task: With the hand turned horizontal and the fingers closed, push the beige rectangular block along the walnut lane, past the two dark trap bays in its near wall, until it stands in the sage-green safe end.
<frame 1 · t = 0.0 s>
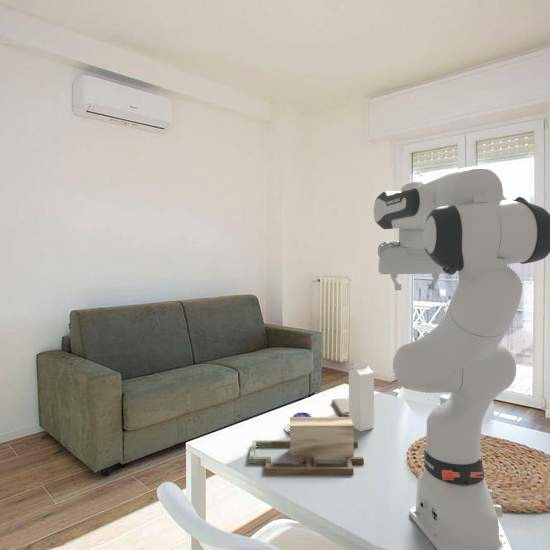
hand: (414, 290, 129), 48 cm above the table, tool pointing down, fingers open, 8 cm apart
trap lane: (307, 454, 133), on the table
beige rectangular block: (321, 454, 133), resting in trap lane
milk: (361, 427, 153), on the table
pudding: (302, 430, 152), on the table
supplement bottle: (447, 437, 144), on the table
washcloth: (351, 411, 170), on the table
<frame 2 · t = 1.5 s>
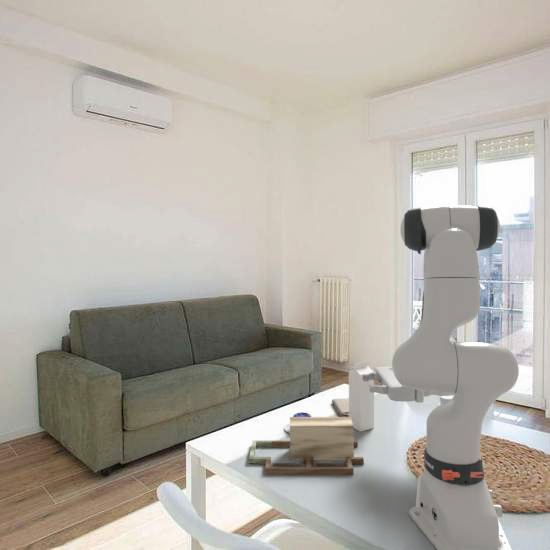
hand: (365, 383, 132), 21 cm above the table, tool horizontal, fingers open, 8 cm apart
nothing on the table moved.
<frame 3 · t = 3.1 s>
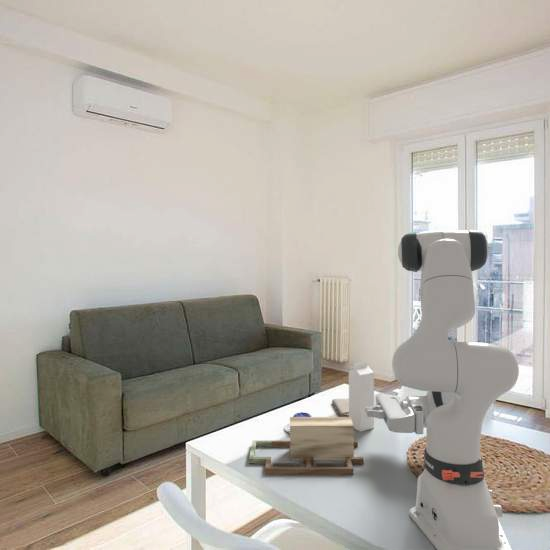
hand: (366, 412, 132), 12 cm above the table, tool horizontal, fingers closed
nothing on the table moved.
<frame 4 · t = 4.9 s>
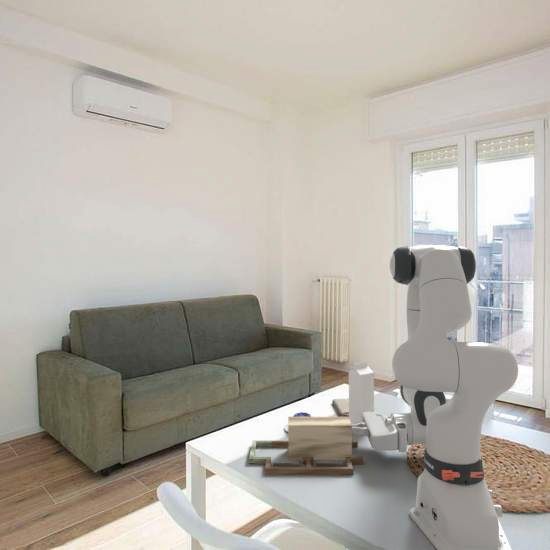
hand: (350, 429, 132), 7 cm above the table, tool horizontal, fingers closed
nothing on the table moved.
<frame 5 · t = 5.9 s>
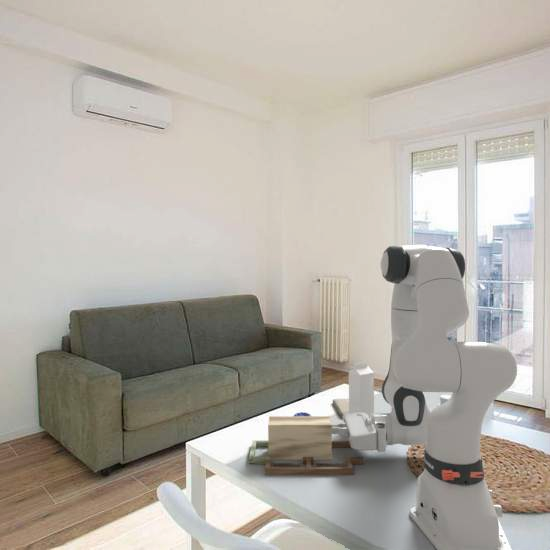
hand: (330, 429, 133), 7 cm above the table, tool horizontal, fingers closed, pressing on beige rectangular block
beige rectangular block: (299, 454, 133), resting in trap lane, touching gripper
everything else where it was.
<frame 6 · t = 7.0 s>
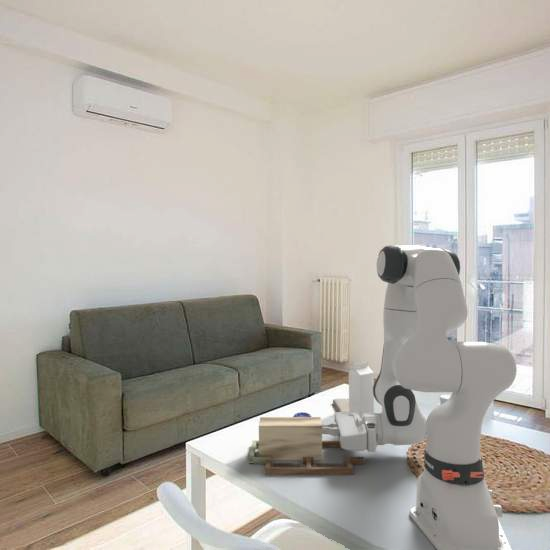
hand: (321, 429, 133), 8 cm above the table, tool horizontal, fingers closed
beige rectangular block: (290, 454, 133), resting in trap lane
everything else where it was.
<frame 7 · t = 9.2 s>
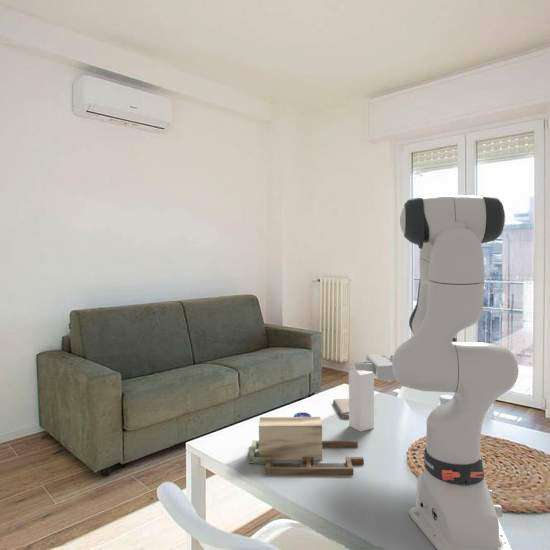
hand: (355, 365, 131), 26 cm above the table, tool horizontal, fingers closed
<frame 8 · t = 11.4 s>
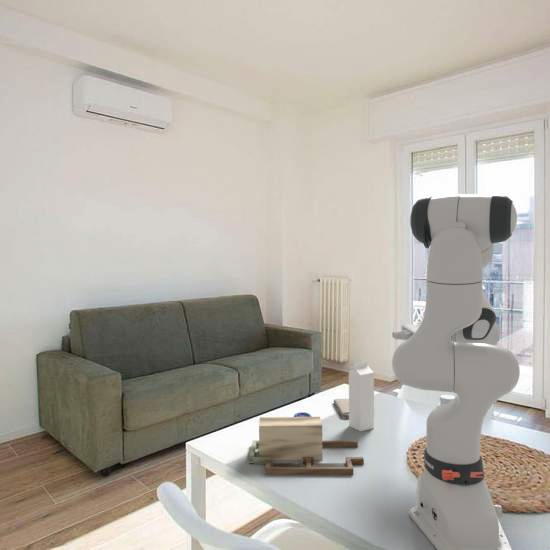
hand: (393, 335, 136), 34 cm above the table, tool horizontal, fingers closed
at the end: beige rectangular block inside the target area (1.1 cm from its centre), resting in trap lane; beige rectangular block tilted 0°; beige rectangular block moved 8.9 cm from its start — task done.
